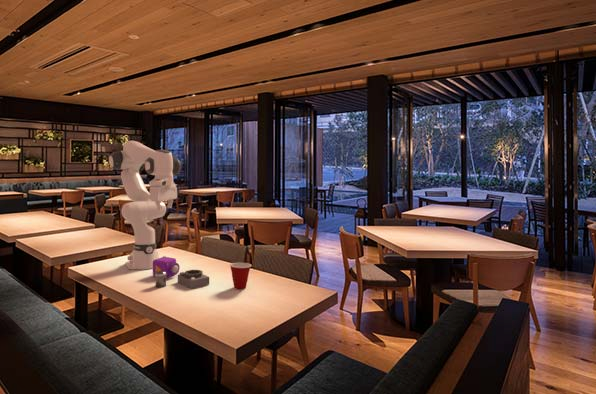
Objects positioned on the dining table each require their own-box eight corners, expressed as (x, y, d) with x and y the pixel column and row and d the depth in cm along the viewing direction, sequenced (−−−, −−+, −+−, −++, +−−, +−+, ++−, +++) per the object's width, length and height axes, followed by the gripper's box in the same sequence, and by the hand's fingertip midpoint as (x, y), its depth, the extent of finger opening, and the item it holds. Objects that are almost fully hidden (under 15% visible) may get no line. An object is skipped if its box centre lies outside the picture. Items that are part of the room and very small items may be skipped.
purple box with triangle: (173, 280, 195) (173, 261, 194) (150, 278, 198) (149, 259, 197) (183, 274, 206) (183, 256, 205) (161, 272, 209) (161, 254, 208)
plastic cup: (255, 287, 186) (256, 263, 185) (240, 292, 177) (240, 268, 176) (240, 282, 192) (240, 260, 192) (224, 288, 184) (224, 264, 183)
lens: (153, 286, 185) (153, 271, 184) (163, 283, 189) (163, 269, 188) (158, 288, 181) (157, 274, 181) (168, 286, 185) (168, 272, 184)
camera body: (177, 282, 191) (177, 270, 191) (195, 278, 198) (195, 267, 198) (191, 288, 181) (191, 276, 181) (209, 284, 189) (209, 273, 188)
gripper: (169, 181, 199) (169, 206, 200) (146, 182, 179) (147, 210, 180) (180, 181, 198) (180, 207, 199) (158, 182, 178) (159, 211, 179)
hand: (164, 208), depth 189 cm, fingers open, 8 cm apart
